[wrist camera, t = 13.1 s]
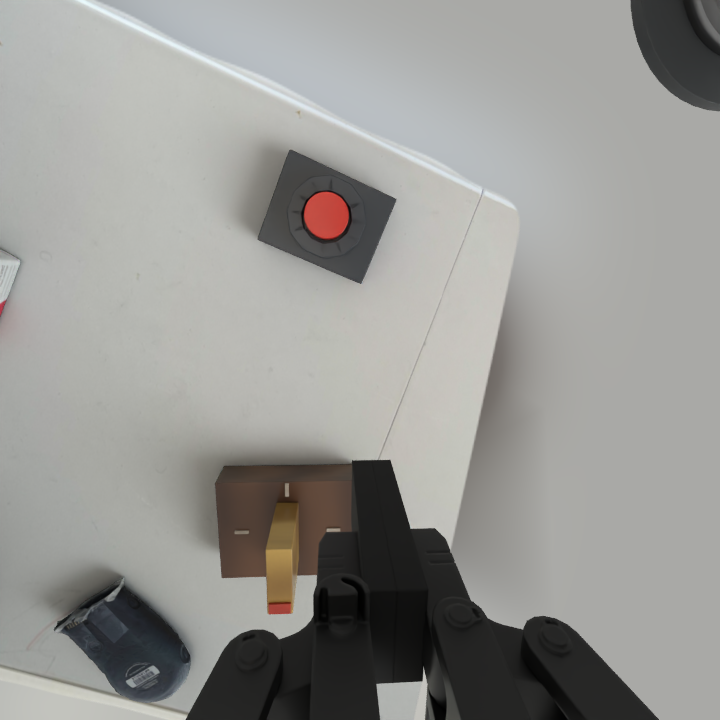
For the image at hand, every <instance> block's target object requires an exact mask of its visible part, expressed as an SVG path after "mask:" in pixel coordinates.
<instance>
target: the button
mask: <svg viewBox="0 0 720 720" xmlns="http://www.w3.org/2000/svg"><path fill="white" fill-rule="evenodd" d="M304 219H305V223H306V225H307V227H308V229H309V230H310V231H311V233H312V234H314V235H315V236H316V237H318V238H321V239H325V240H330V239H334V238H336V237H338V236H339V235H341V234H342V233H343V231H344V230H345V228H346V226H347V223H348V219H349V212H348V208H347V205H346V203H345V202H344V200H343V199H342V198H341V197H340V196H338V195H337V194H335V193H332V192H320V193H317V194H315V195H314V196H312V197H311V198H310V199H309V201H308V202H307V204H306V206H305V210H304Z"/></svg>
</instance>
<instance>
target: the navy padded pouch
mask: <svg viewBox="0 0 720 720" xmlns="http://www.w3.org/2000/svg"><path fill="white" fill-rule="evenodd" d="M123 581H124V577H123V578H122V579H120V580H118V581H117V582H116V583H114V584H113V585H111V586H110V587H108V588H106V589H104V590H103V591H101V592H100V593H98V594H96V595H94V596H93V597H91V598H89V599H88V600H86V601H85V602H83V603H82V604H81V605H80V606H79V608H78V609H77V610H76V611H74V612H73V613H71V614H70V615H68V616H67V617H66V618H64V619H63V620H61V621H58V623H57V626H56V627H55V628H54V631H55V633H63V634H65V635H68V636H69V637H70V638H71V639H72V640H73V641H74V642H75V643H76V644H77V645H78V646H79V648H81V649H82V650H83V651H84V652H85V653H86V655H87V656H88V657H89V658H90V659H91V660H93V661H94V663H95V664H96V665H97V666H98V668H99V669H100V670H101V671H102V672H103V673H104V674H105V675H106V677H107V679H108V681H109V683H110V684H111V686H112V687H113V688H114V689H115V691H116V692H118V693H119V694H120V695H122V696H125V697H127V698H129V699H130V700H134V701H137V702H145V703H149V702H156V701H160V700H163V699H166V698H169V697H170V696H172V695H173V694H174V693H175V692H176V691H177V690H178V689H179V688H180V687H181V686H182V685H183V684H184V683H185V681H186V678H187V676H188V673H189V670H190V662H191V661H190V655H189V653H188V651H187V649H186V647H185V645H184V644H183V643H182V641H181V640H180V639H179V636H178V634H177V633H175V632H174V630H173V629H172V628H171V627H170V626H169V625H167V624H166V623H165V622H164V621H163V620H162V619H161V618H160V617H159V616H158V615H157V614H156V613H154V612H153V611H152V610H151V609H150V608H149V607H148V606H146V605H145V604H144V603H143V602H141V601H140V600H138V598H137V597H135V596H133V595H131V593H130V592H128V591H127V590H126V589H125V588H124V585H123V584H124V582H123Z"/></svg>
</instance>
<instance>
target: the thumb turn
mask: <svg viewBox="0 0 720 720" xmlns="http://www.w3.org/2000/svg"><path fill="white" fill-rule="evenodd" d="M298 562H299V503H298V502H297V503H276V507H275V512H274V516H273V520H272V525H271V529H270V533H269V538H268V542H267V546H266V578H267V610H268V614H291V613H293V607H294V598H295V589H296V580H297V571H298Z"/></svg>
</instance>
